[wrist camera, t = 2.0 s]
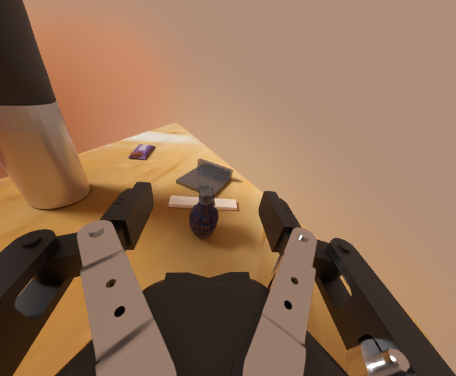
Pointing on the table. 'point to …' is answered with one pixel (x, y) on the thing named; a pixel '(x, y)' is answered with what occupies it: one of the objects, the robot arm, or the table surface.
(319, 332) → the table surface
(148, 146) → the snack package
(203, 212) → the hand grenade
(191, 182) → the plate
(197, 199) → the door edge strip
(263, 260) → the table surface
